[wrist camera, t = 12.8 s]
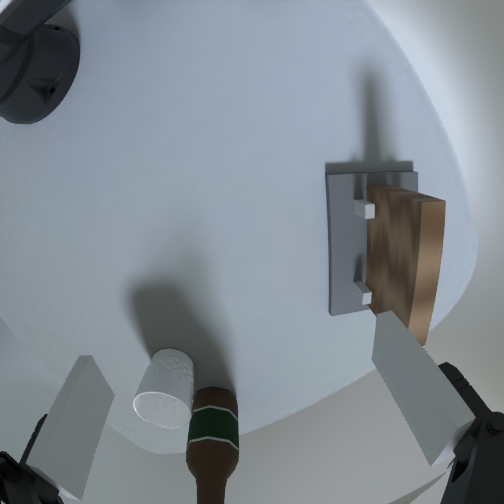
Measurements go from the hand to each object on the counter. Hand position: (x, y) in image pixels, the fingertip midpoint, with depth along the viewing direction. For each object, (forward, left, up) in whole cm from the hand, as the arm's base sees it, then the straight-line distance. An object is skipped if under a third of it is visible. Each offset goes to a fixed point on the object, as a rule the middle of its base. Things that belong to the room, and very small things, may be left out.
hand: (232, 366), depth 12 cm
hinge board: (+4, +18, -25) cm, 31 cm away
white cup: (+20, -12, -25) cm, 34 cm away
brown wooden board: (+4, +18, -23) cm, 30 cm away
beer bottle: (+29, -7, -25) cm, 39 cm away
